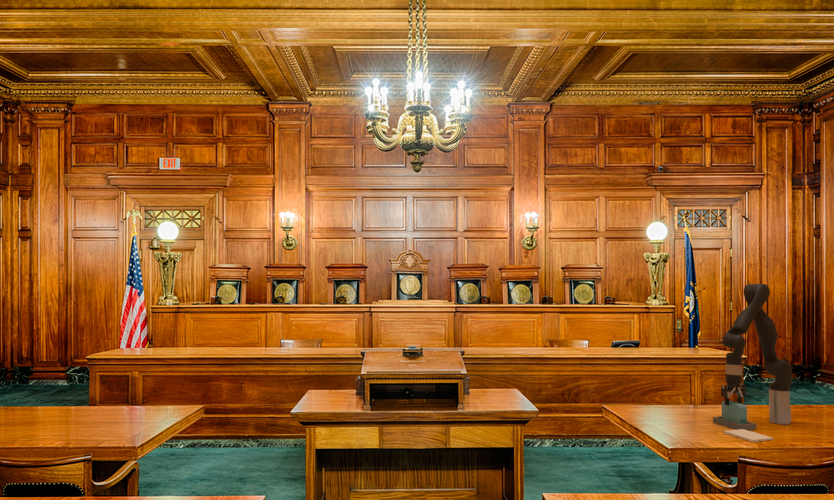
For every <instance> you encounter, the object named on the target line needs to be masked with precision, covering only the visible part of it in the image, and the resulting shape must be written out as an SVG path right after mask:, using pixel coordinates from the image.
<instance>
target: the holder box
mask: <svg viewBox="0 0 834 500" xmlns="http://www.w3.org/2000/svg"><path fill="white" fill-rule="evenodd" d="M712 424H716V425H719V426H722V427H726V428H729V429H731V430H738V429H745V430H749V431H757V423H754V422H751V421H748V420H747V424H738V423H734V422H731V421H727V420H724V419H722V415H721V416H712Z"/></svg>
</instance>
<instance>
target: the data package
mask: <svg viewBox="0 0 834 500" xmlns="http://www.w3.org/2000/svg"><path fill="white" fill-rule="evenodd" d="M721 416H722V419H724V420H727V421H731V422H734V423H738V424H747V421H748V408H747V405H745V404H744V403H742V404H740V403H737V402H736V401H733V400H729V406H727V405H725V403H724V400H722V402H721Z"/></svg>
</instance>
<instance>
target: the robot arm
mask: <svg viewBox="0 0 834 500" xmlns="http://www.w3.org/2000/svg"><path fill="white" fill-rule="evenodd" d="M770 294H771V290H770V287H769V286H768V285H767V284H765V283H750V284H749V283H748V284H746V285H745V286H744V287H743V297H744V299H745V301H746V303H747V306H746V307H745V308H744V309H743V310H742V311H740V313H738V315H737V317H736V319H735V320H734V323H733V325H732V326H731V327H730V328H729V329H728V330H727V331H726V332H725V333H724V335H723V337H722V344H723V345H724V347H726V348H729V349H730V348H731V349H733V351H731V352H727V353H726V354H725V355H726V356H725V372H724V373H725V374H724V375H725V378H724V380H725V382H726V384H721V388H720V390H721V391H720V396H721V397H723V398H724V400H723V401H724V403H725V405H727V406H729V401H730V397H731V396H732V395H733V394H736V396H737V398H736V399H737V400H736V401H737V403H740V404H743V397H746V396H747V394H746V393H747V392H746V391H747V390H746V384H743V367H742V357H743V354H744V351H745V348H746V338H745V337H744V336H743V335H745V334H747V333H748V330H749V329H750V327H751V324H752V322H753V324H754V328H755V331H756V334H757V338H758V340H759V344H760V348H761V352H762V356H763V362H764V368H765V371H766V373H768V375H770V376H773V377H774V378H775V379H774V381H773V382H770V383H769V385H768V404H769V405H768V408H769V409H768V411H769V413H768V414H769V416H768V417H769V419H768V421H769V423H773V424H777V425H790V424H791V423H792V406H791V404H790V402H791V401H790V399H791V398H790V395H791V394H790V388H791V386H792V377H793V374H792V373H793V372H792V371H793V370H792V365H791V363H790V362H788V361H787V360H784V359H778V356H777V351H776V345H777V341H778V335H779V334H778V331H777V327H776V324H775V322H774V321H773V318H772V317H770V316H769V315H768V314H767V312H766V311H765V310H764V308H763V306H764V304H765V303H766V302H767V301H768V299H769V297H770Z"/></svg>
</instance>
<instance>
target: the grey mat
mask: <svg viewBox="0 0 834 500" xmlns="http://www.w3.org/2000/svg"><path fill="white" fill-rule="evenodd" d="M722 432H723V434H724V435H727V436H730V435H731V437H733V436H734V438H736V437H738V438H737V439H740V438H742V439H741V440H743V439H744V440H743V441H746V440H748V441H747V442H749V441H751V442H750V443H752V442H754V443H760V442H759V441H763V442H767V441H766V440H772V441H774V437H772V436H768V435H764V434H761V433H758V432H755V431H753V430H749V431H748V430H745V429H738V430H736V429H730V430H723V431H722Z"/></svg>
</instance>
